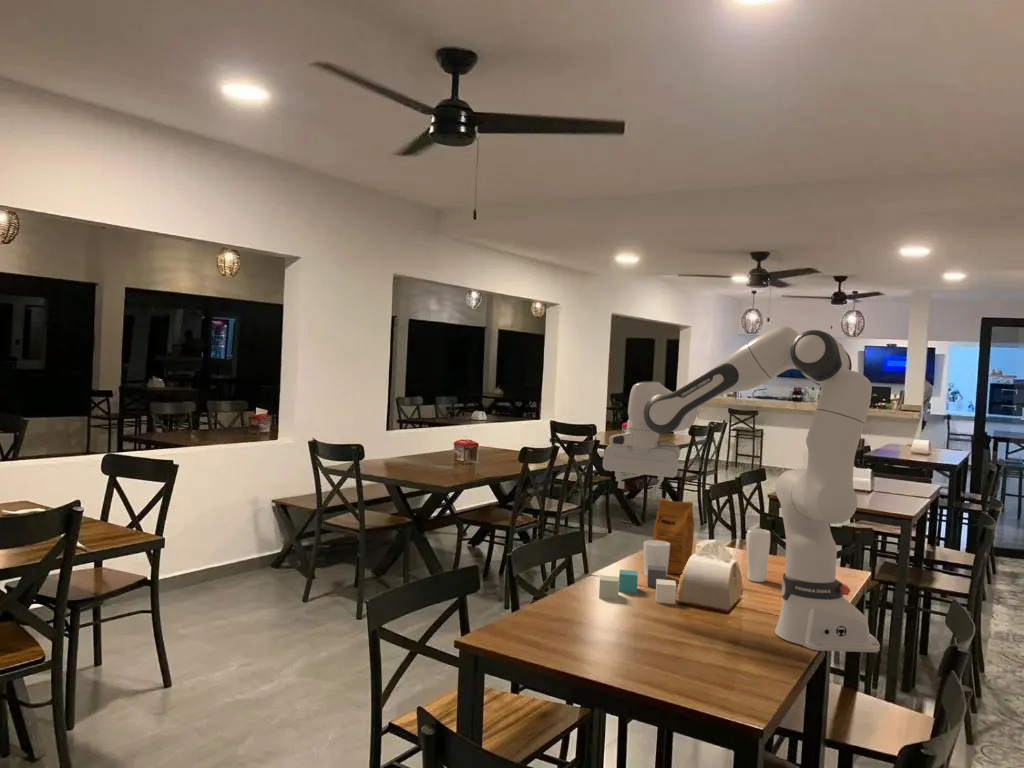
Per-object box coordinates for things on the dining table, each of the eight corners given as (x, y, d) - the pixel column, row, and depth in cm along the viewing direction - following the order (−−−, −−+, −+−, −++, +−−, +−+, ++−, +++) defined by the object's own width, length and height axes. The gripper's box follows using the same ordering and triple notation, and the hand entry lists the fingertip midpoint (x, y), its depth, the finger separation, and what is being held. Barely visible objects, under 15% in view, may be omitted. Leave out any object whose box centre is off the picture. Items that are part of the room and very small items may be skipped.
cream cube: (674, 599, 206) (675, 580, 206) (675, 604, 201) (676, 585, 201) (655, 597, 207) (656, 579, 207) (656, 602, 202) (656, 583, 202)
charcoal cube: (664, 583, 221) (665, 566, 221) (665, 588, 216) (666, 570, 216) (647, 582, 222) (648, 565, 222) (647, 586, 217) (648, 569, 217)
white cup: (649, 571, 234) (650, 538, 234) (673, 576, 230) (674, 543, 230) (637, 576, 228) (639, 542, 228) (662, 581, 223) (663, 547, 223)
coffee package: (660, 563, 245) (663, 495, 244) (696, 571, 237) (699, 500, 237) (645, 569, 237) (648, 498, 237) (682, 577, 229) (686, 504, 229)
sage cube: (618, 595, 207) (619, 576, 207) (617, 600, 202) (618, 581, 202) (599, 593, 208) (600, 575, 208) (599, 598, 203) (599, 579, 203)
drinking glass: (771, 583, 226) (773, 533, 225) (748, 582, 226) (750, 532, 225) (764, 577, 232) (766, 528, 232) (741, 576, 232) (744, 527, 232)
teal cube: (636, 588, 214) (637, 571, 214) (636, 593, 210) (637, 575, 209) (619, 587, 215) (619, 569, 215) (618, 592, 210) (619, 574, 210)
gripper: (681, 443, 208) (677, 493, 208) (607, 435, 214) (604, 484, 214) (679, 444, 202) (675, 496, 202) (603, 436, 208) (599, 487, 208)
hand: (638, 490), depth 208 cm, fingers open, 8 cm apart
